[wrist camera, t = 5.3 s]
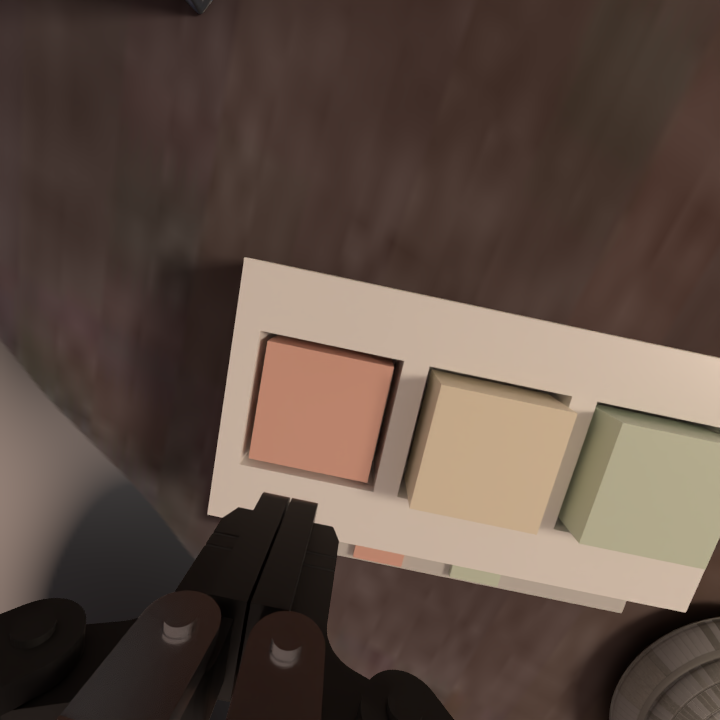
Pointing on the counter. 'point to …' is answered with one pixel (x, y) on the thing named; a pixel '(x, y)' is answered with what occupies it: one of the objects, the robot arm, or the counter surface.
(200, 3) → the box
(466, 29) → the counter surface
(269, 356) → the coral key
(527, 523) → the sand key
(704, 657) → the flying saucer
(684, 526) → the sage key
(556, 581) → the keypad
